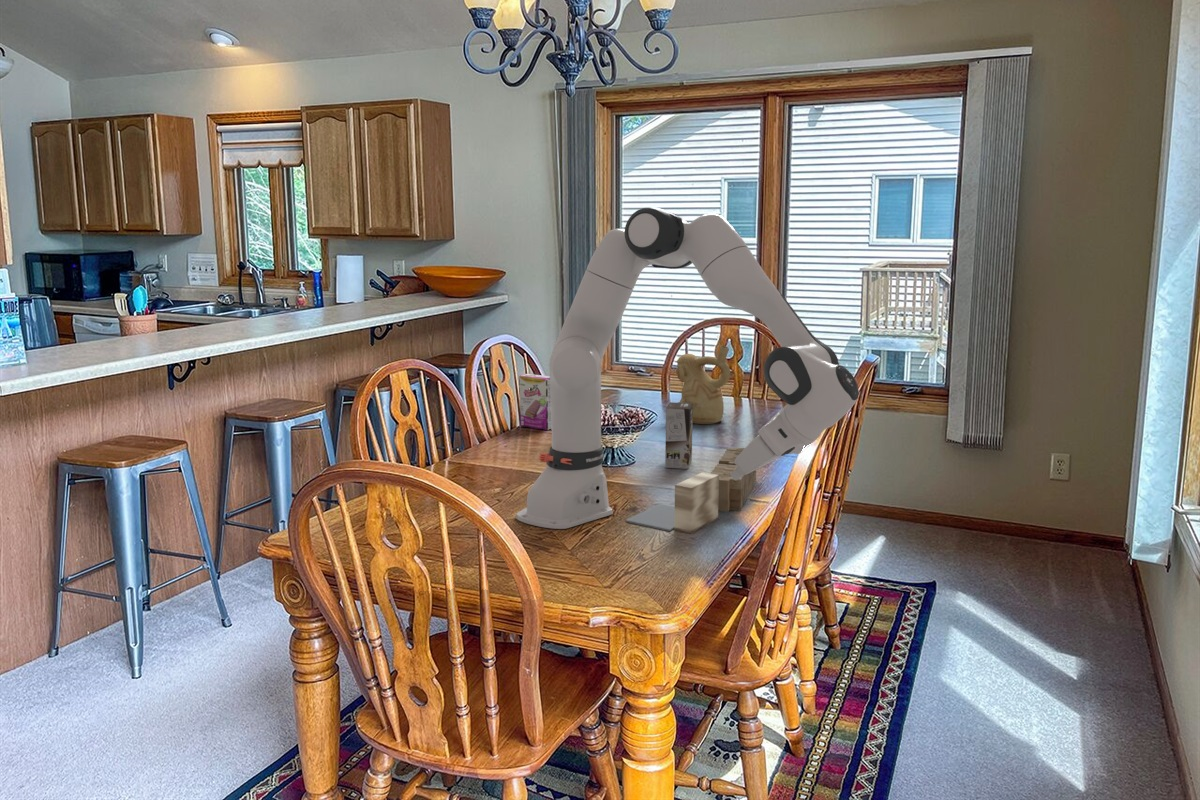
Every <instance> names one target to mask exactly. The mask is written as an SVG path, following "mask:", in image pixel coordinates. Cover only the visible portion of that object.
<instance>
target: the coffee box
mask: <svg viewBox="0 0 1200 800" xmlns="http://www.w3.org/2000/svg"><path fill="white" fill-rule="evenodd" d="M692 411H693V403H688V402H680V401H678V402H673V401H671V402H669V403H668V405H667V406H666V408H665V447H664V448H665V451H664V452H665V454H664V455H665V456H664V458H665V460H664V463H665V464H664V466H665V469H666V468H667V469H684V470H688V469H689V467H690V465H691V463H692V461H693V423H692Z"/></svg>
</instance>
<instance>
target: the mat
mask: <svg viewBox="0 0 1200 800" xmlns="http://www.w3.org/2000/svg"><path fill="white" fill-rule="evenodd" d="M674 518H675V506H671V505H667V504H662V503H658V504H656V505H654V506H652V507H650V508H647V509H646V510H644V511H642V512H639V513H638V514H636V515H634V516H631V517H629V518H626V519H625V523H630V524H633V525H638V526H644V527H647V528H653V529H657V530H663V531H667V532H671V531H674Z"/></svg>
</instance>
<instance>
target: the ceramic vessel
mask: <svg viewBox="0 0 1200 800" xmlns="http://www.w3.org/2000/svg"><path fill="white" fill-rule="evenodd" d="M729 350H730V347H729V346H726V345H720V346H719V350H718V354H717V356H708V355H707V356H700V357H697V356H696V355H695V354H693V353H685V354H682V355H681V356H680V357H678V358H677V360H676V363H677V364H676V365H677V366H676V369H675V374H676V375H677V378H678V380H679V381H680V382H681V383H684V384H683V386H682V389H681V399H680V400H679V402H688V403H693V411H692V424H696V425H698V424H699V425H713V424H717V423H720V422H721V421H722V419H723V415H724V409H725V408H724V406H725V405H724V398H723V394H722V392H721V389H720V388H722V387H724V386H725V385H726V384H727V383H728V382H729V380H730V377H731V369H730V365H729V363H727V361H726V360H727V356H728V353H729ZM705 365H713V366H715V367H716V366H717V367H718V368H720V370H721V376H720V377H719V378H717V379H714V378H712V377H711V375H709V374H708V373H707V372H706V371H705V369H704V367H703V366H705Z"/></svg>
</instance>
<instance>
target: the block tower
mask: <svg viewBox="0 0 1200 800" xmlns="http://www.w3.org/2000/svg"><path fill="white" fill-rule="evenodd" d="M745 448H746V447H734V446H733V447H727V448H726V450H725V452H724V453H723V454H722V456H721V458H720V459H719V460H718V463H717V464H716V465H715V467H714V468H713V469H711V472H710V473H711V474H717V475H719V501H718V510H719V511H718V512H724V511H729V510H730V511H736V510H740V511H739V512H741V511H742V510H743V506H744V505H745V503H746V501H747V500H748V498H749V496H750V495H751V492H752V491H753V490H752V489H753V488H754V486H755V484H756V481H757V470H754V471H752V472H751V473H749V474H747V475H743V476H742V477H741V478H740V479H738V480H736V481H735V480H734V479H733V478H732V477H731V473H732V472H733V471H734V470H735V469H736V468H737V465H736V464H735V460H736V458H737V456H738V455H739V454H740V453H741V452H742V451H743V450H744V449H745ZM755 480H756V481H755ZM754 483H755V484H754ZM753 485H754V486H753ZM750 491H751V492H750ZM747 497H748V498H747ZM746 499H747V500H746ZM741 509H742V510H741ZM730 511H729V512H730Z"/></svg>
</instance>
